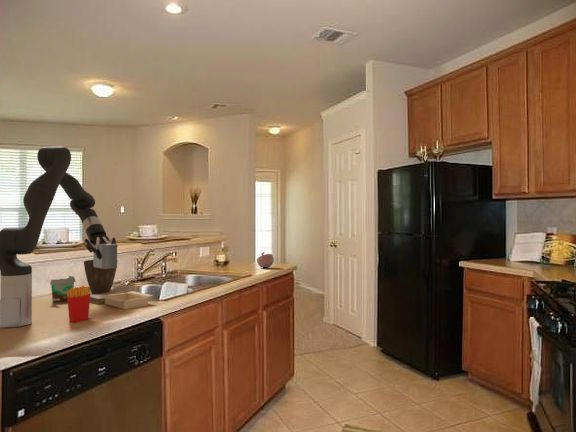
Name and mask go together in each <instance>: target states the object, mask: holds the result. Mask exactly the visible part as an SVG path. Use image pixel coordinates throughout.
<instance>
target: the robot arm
mask: <svg viewBox="0 0 576 432" xmlns="http://www.w3.org/2000/svg"><path fill="white" fill-rule="evenodd" d="M36 157H37V162H38V164H39V166H40V167H41V169H42V170H44V171H45V172H44V173H43V174H41V175H39V176H38V177H37V178H35V179H34V180H33V181H31V183H30V184H29V186H28V187H27V189H26V192H25V193H24V196H23V200H22V201H23V205H24V209H25V211H26V213H27V214H28V215H27V216H28V221H27V223H26V225H25V226H24V227H3V228H2V229H1V230H0V328H20V327H22V326H23V327H24V326H27V325H30V324H32V323H33V267H32V265H31V264H30V263H26V262H23V261H22V260H20V259H19V258H18V256H17V255H30V254H32V253H33V252H34V251H35V250H36V248H37V246H38V243H39V240H40V236H41V232H42V229H43V226H44V222H45V220H46V217H47V214H48V212H49V210H50V208H51V206H52V203H53V201H54V198H55V196H56V193H57V191H58V188H59V186H60V187H61V188H62V190H63V191H64V192H65V194H66V195H67V196H68V199H70V201H69V207H70V208H71V210H72V211H73V212H74V213H75V214H76V215H77V216H78V217H79V219H80V220H81V223H82V226H83V229H84V232H85V234H86V236H87V238H84V241H83V243H82V244H83V245H84V246H85V248H86V249H87V250H88V252H89V253H93V252H94V253H95V254H96V256H97V258H98V259H101V258H102V255H101V252H100V250H98V249H99V248H98V244H117V241H116V238H115V237H112V238H109V237H108V236H107V233H106V230H105V227H104V226H103V223H102V222H101V220H100V218H99V216H98V214H97V211H96V210H94V209H93V208H94V207H95V204H96V200H95V198H94V197H93V195H92V194H91V193H89V192H88V191H86V190H85V189H84V188H83V186H82V184H81V183H80V182H79V180H78V179H77V178H76V177H74V176H73V175H71V174H70V173H68V172H67V171H68V169H69V167H70V165H71V162H72V153H71V150H70V149H69V148H68V147H66V146H43V147H40V148H39V149H38V150H37V156H36ZM93 245H94V247H93Z"/></svg>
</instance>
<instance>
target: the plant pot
mask: <svg viewBox="0 0 576 432" xmlns="http://www.w3.org/2000/svg"><path fill="white" fill-rule="evenodd" d="M117 262H118V259H117ZM83 267H84V268H83V269H84V272H85V276H86V281H87V285H88V286H89V291H90V292H91V295H92V294H100V293H107V292H111V289H112V286H113V284H114V280H115V277H116V273H117V268H110V269H103V268H97V267H93V259H87V260H83Z"/></svg>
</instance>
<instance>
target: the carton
mask: <svg viewBox="0 0 576 432" xmlns="http://www.w3.org/2000/svg"><path fill="white" fill-rule="evenodd" d="M99 297H102V298H105V303H104V304H105V305H108V306H111V307H115V308H119V309H123V310H126V309H127V310H128V309H133V308H139V307H145V306H149V298H152V297H154V295H152V294H148V293H143V292H138V291H134V290H131V291H128V292H124V293H119V294H115V295H108V296H106V295H103V296H99Z"/></svg>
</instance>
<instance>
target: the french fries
mask: <svg viewBox="0 0 576 432" xmlns="http://www.w3.org/2000/svg"><path fill="white" fill-rule="evenodd" d="M89 291H90V287H89V285H88V286H85V285H82V286H78V287H76V286H74V288H71V289H70V290H69V289H68V290H67V291H66V292H67V295H68V297H67V308H68V309H67V311H68V318H69V320H68V321H69V322H70V323H79V322H83V321H88V319H89V316H90V315H89V314H90V304H91V302H90V295H91V293H89Z"/></svg>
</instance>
